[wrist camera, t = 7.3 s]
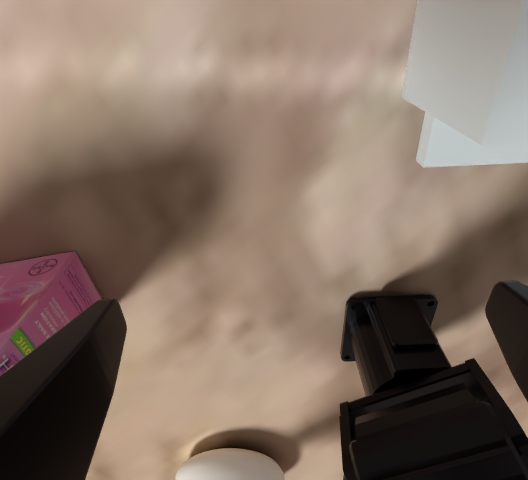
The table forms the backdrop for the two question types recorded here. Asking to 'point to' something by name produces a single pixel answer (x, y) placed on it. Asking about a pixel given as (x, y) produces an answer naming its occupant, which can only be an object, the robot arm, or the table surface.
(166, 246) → the table surface
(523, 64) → the lid
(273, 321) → the table surface
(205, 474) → the flower in vase
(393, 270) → the table surface
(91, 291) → the box
